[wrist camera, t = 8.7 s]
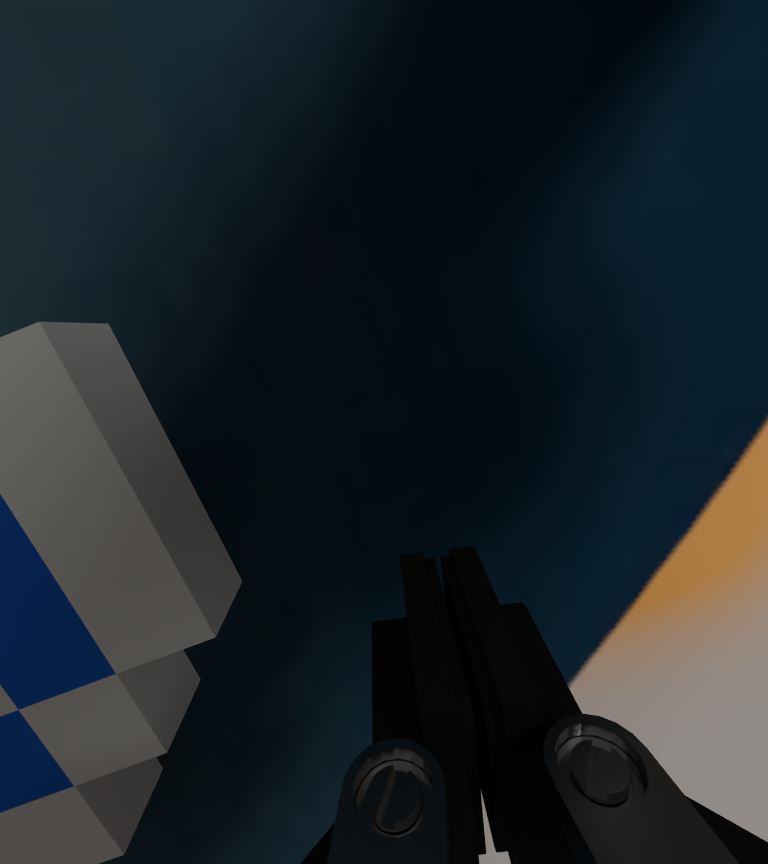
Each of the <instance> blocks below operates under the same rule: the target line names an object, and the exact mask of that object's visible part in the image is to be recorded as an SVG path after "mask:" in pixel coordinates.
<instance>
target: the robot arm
mask: <svg viewBox="0 0 768 864" xmlns="http://www.w3.org/2000/svg"><path fill="white" fill-rule="evenodd" d="M400 562H401V571H402V579H403V587H404V595H405V603H406V612H407V617H406V618H398V619H390V620H383V621H375V622H372V714H373V744H372V745H370V746H368V747H367V748H366V749H365V750H364V751H363V752H361V753H360V754H359V755H358V756H357V757H356V758H355V760H354V761H353V763H352V764H351V766H350V767H349V769H348V770H347V773H346V776H345V779H344V782H343V785H342V788H341V793H340V798H339V804H338V809H337V814H336V819H335V823H334V824H333V825H332V826H331V828H330V829H329V830H328V831H327V832H326V834H325V835H324V836H323V837H322V838H321V840H320V841H319V842H318V843H317V844H316V846H315V847H314V848H313V849H312V850H311V852H310V853H309V854H308V855H307V856H306V858H305V859H304V860H303V861H302V862H301V864H479V856H478V855H481V854H486V846H485V835H484V824H483V813H482V801H481V791H482V796H483V799H484V804H485V808H486V812H487V817H488V821H489V825H490V830H491V834H492V839H493V843H494V846H495V850H496V852H505V851H508V853H509V857H510V861H511V864H768V842H766V841H764V840H763V839H761V838H759V837H757V836H756V835H754V834H752V833H750V832H748V831H747V830H745V829H743V828H741V827H739V826H738V825H736V824H734V823H733V822H731V821H729V820H727V819H725V818H724V817H722V816H720V815H718V814H716V813H715V812H713V811H711V810H710V809H708V808H706V807H704V806H702V805H701V804H699V803H697V802H695V801H694V800H692V799H690V798H688V797H687V796H685V795H684V794H683V793H682V792H681V790H680V789H679V788H678V786H677V785H676V784H675V783H674V781H673V780H672V779H671V778H670V776H669V775H668V774H667V773H666V772H665V770H664V769H663V768H662V766H661V765H660V764H659V763H658V761H657V760H656V759H655V758H654V756H653V755H652V754H651V753H650V751H649V750H648V749H647V748H646V747H645V746H644V745H643V744H642V743H641V742H640V741H639V740H638V739H637V738H636V737H635V736H634V735H633V734H632V733H631V732H629V731H628V730H626V729H625V728H623V727H622V726H620V725H619V724H617V723H615V722H613V721H610V720H608V719H605V718H603V717H600V716H595V715H588V714H582V712H581V710H580V708H579V707H578V705H577V703H576V701H575V699H574V697H573V695H572V693H571V691H570V689H569V688H568V686H567V684H566V682H565V680H564V678H563V676H562V674H561V672H560V670H559V669H558V667H557V665H556V663H555V661H554V659H553V657H552V655H551V653H550V651H549V650H548V648H547V646H546V644H545V642H544V640H543V638H542V636H541V634H540V633H539V631H538V629H537V627H536V625H535V623H534V621H533V619H532V617H531V615H530V614H529V612H528V610H527V608H526V607H525V605H524V604H523V603H513V604H505V605H500V604H499V602H498V599H497V597H496V595H495V592H494V590H493V588H492V586H491V583H490V581H489V579H488V577H487V574H486V572H485V570H484V568H483V565H482V563H481V561H480V559H479V556H478V554H477V552H476V550H475V548H474V546H469V547H462V548H454V549H449V556H444V557H441V566H442V575H443V585H444V595H445V599H444V595H443V591H442V588H441V584H440V580H439V576H438V572H437V568H436V564H435V561H434V558H429V559H425V558H424V553H416V554H408V555H401V556H400ZM480 787H481V790H480Z"/></svg>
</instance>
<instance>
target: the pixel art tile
mask: <svg viewBox="0 0 768 864" xmlns="http://www.w3.org/2000/svg"><path fill="white" fill-rule="evenodd" d="M241 583H242V580H241V578H240V576H239V574H238V572H237V570H236V568H235V566H234V564H233V562H232V560H231V558H230V556H229V555H228V553H227V551H226V549H225V547H224V545H223V543H222V541H221V539H220V537H219V535H218V533H217V531H216V530H215V528H214V526H213V524H212V522H211V520H210V518H209V516H208V514H207V512H206V510H205V508H204V506H203V505H202V503H201V501H200V499H199V497H198V495H197V493H196V491H195V489H194V487H193V485H192V483H191V482H190V480H189V478H188V476H187V474H186V472H185V470H184V468H183V466H182V464H181V462H180V460H179V458H178V457H177V455H176V453H175V451H174V449H173V447H172V445H171V443H170V441H169V439H168V437H167V435H166V433H165V432H164V430H163V428H162V426H161V424H160V422H159V420H158V418H157V416H156V414H155V412H154V410H153V408H152V407H151V405H150V403H149V401H148V399H147V397H146V395H145V393H144V391H143V389H142V387H141V385H140V383H139V382H138V380H137V378H136V376H135V374H134V372H133V370H132V368H131V366H130V364H129V362H128V360H127V358H126V357H125V355H124V353H123V351H122V349H121V347H120V345H119V343H118V341H117V339H116V337H115V335H114V334H113V332H112V330H111V328H110V326H109V324H96V323H61V322H38V323H35V324H33V325H30V326H28V327H25V328H23V329H20V330H18V331H15V332H13V333H10V334H8V335H5V336H3V337H0V864H99V863H102V862H105V861H108V860H110V859H113V858H116V857H119V856H122V855H124V854H125V852H126V850H127V847H128V845H129V843H130V841H131V839H132V836H133V834H134V832H135V830H136V828H137V825H138V823H139V821H140V819H141V816H142V814H143V812H144V810H145V808H146V805H147V803H148V801H149V799H150V797H151V794H152V792H153V790H154V788H155V786H156V783H157V781H158V779H159V777H160V775H161V772H162V770H163V767H162V765H161V764H160V762H159V761H158V759H157V758H156V757H157V756H160V755H163V754H165V753H167V752H168V750H169V747H170V745H171V743H172V741H173V739H174V737H175V734H176V732H177V730H178V728H179V726H180V724H181V721H182V719H183V717H184V715H185V713H186V711H187V708H188V706H189V704H190V702H191V700H192V698H193V695H194V693H195V691H196V689H197V687H198V685H199V682H200V680H201V679H200V677H199V676H198V674H197V672H196V671H195V669H194V667H193V665H192V664H191V662H190V660H189V659H188V657H187V655H186V653H185V652H184V650H183V649H185V648H188V647H191V646H194V645H196V644H199V643H202V642H204V641H207V640H210V639H213V638H215V637H216V635H217V633H218V631H219V629H220V627H221V625H222V623H223V621H224V619H225V617H226V614H227V612H228V610H229V608H230V606H231V604H232V602H233V600H234V598H235V596H236V593H237V591H238V589H239V587H240V585H241Z"/></svg>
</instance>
